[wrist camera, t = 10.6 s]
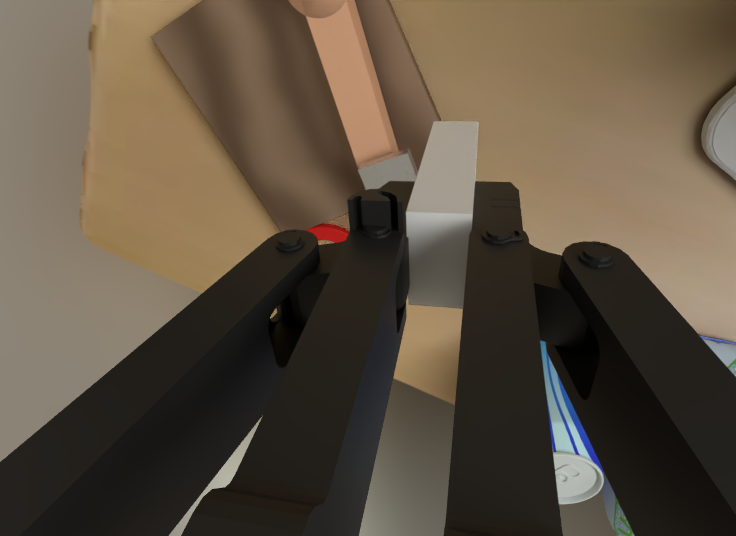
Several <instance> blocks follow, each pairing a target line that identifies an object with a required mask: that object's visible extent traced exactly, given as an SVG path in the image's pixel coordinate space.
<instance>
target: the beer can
mask: <svg viewBox="0 0 736 536" xmlns="http://www.w3.org/2000/svg"><path fill="white" fill-rule="evenodd" d="M540 343H541V352H542V361H543V370H544V378H545V387H546V396H547V405H548V413H549V422H550V431H551V439H552V448H553V457H554V466H555V474H556V483H557V492H558V501H559V504H571V503H578V502H581V501H584V500H587V499H589V498H591V497H593V496H594V495H596V494H597V493H598V492H599V491H600V490H601V488H602V486H603V483H604V477H603V473H604V471H603V469H602V467H601V464H600V462H599V460H598V458H597V456H596V454H595V452H594V450H593V448H592V446H591V444H590V441H589V439H588V437H587V435H586V433H585V431H584V429H583V427H582V425H581V423H580V420H579V418H578V416H577V414H576V412H575V410H574V408H573V406H572V404H571V402H570V399H569V397H568V395H567V393H566V391H565V389H564V387H563V385H562V383H561V381H560V379H559V376H558V374H557V372H556V370H555V368H554V366H553V364H552V362H551V360H550V358H549V355H548V353H547V351H546V345H545V343H546V342H544V341H541V340H540Z"/></svg>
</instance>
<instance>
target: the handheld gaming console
mask: <svg viewBox="0 0 736 536" xmlns="http://www.w3.org/2000/svg"><path fill="white" fill-rule="evenodd" d="M701 141H702V147H703V149H704V152H705V153H706V155H707V156H708V157H709V159H710V160H712V161H713V162H714V163H715V164H716V165H718V166H719V167H720V168H721V169H722V170H724V171H725V172H726V173H727V174H729V175H730V176H731V177H732V178H733V179H735V180H736V86H734V87H733V88H732V89H731V90H730V91H729V92H728V93H727V94H725V95H724V96H723V97H722V98H721V99H720V100H719V101H718V102H717V103H716V104H715V106H714V107H713V108H712V109H711V110H710V112H709V114H708V116H707V118H706V120H705V122H704V124H703V128H702V133H701Z"/></svg>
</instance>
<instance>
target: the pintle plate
mask: <svg viewBox="0 0 736 536" xmlns="http://www.w3.org/2000/svg"><path fill="white" fill-rule="evenodd" d="M355 3H356V7H357V10H358V14H359V17H360V20H361V24H362V27H363V31H364V34H365V38H366V41H367V44H368V48H369V51H370V55H371V58H372V62H373V65H374V68H375V72H376V75H377V79H378V82H379V86H380V89H381V92H382V96H383V99H384V103H385V106H386V109H387V113H388V116H389V120H390V123H391V127H392V130H393V133H394V137H395V140H396V144H397V147H398V151H400V150H403V149H406V148H409V149H410V151H411V154H412V157H413V159H414V162H415V165H416V167H417V170H418V171H419V168H420V165H421V161H422V158H423V155H424V152H425V148H426V145H427V142H428V139H429V136H430V132H431V129H432V126H433V123H434V121H441V119H440V116H439V114H438V112H437V109H436V107H435V105H434V102H433V100H432V98H431V95H430V93H429V91H428V89H427V86H426V84H425V82H424V79H423V77H422V75H421V72H420V70H419V68H418V65H417V63H416V61H415V59H414V56H413V54H412V52H411V49H410V47H409V45H408V42H407V40H406V38H405V35H404V33H403V31H402V29H401V26H400V24H399V22H398V19H397V17H396V15H395V12H394V10H393V8H392V5H391V3H390V1H389V0H355ZM151 38H152V40H153V41H154V43H155V44H156V46H157V47H158V49H159V50H160V52H161V53H162V55H163V56H164V58H165V59H166V61H167V62H168V64H169V65H170V67H171V68H172V70H173V71H174V73H175V74H176V76H177V77H178V79H179V80H180V82H181V83H182V85H183V86H184V88H185V89H186V91H187V92H188V94H189V95H190V97H191V98H192V100H193V101H194V103H195V104H196V105H197V107H198V108H199V110H200V111H201V113H202V114H203V116H204V117H205V119H206V120H207V122H208V123H209V125H210V126H211V128H212V129H213V131H214V132H215V134H216V135H217V137H218V138H219V140H220V141H221V143H222V144H223V146H224V147H225V149H226V150H227V152H228V153H229V155H230V156H231V158H232V159H233V161H234V162H235V164H236V165H237V167H238V168H239V170H240V171H241V173H242V174H243V176H244V177H245V179H246V180H247V182H248V183H249V185H250V186H251V188H252V189H253V191H254V192H255V194H256V195H257V197H258V198H259V200H260V201H261V203H262V204H263V206H264V207H265V209H266V210H267V212H268V213H269V215H270V216H271V218H272V219H273V221H274V222H275V224H276V225H277V227H278V228H279V230H280V231H281V232H283V231H285V230H291V229H297V230H307V229H309V228H311V227H314V226H316V225H319V224H321V223H324V222H326V221H329V220H331V219H334V218H336V217H339V216H341V215H344V214H346V213H348V203H347V199H348V198H349V197H350V196H351V195H353V194H355V193H357V192H359V191H364V190H365V187H364V184H363V181H362V179H361V176H360V174H359V172H358V167H357V164H356V161H355V158H354V155H353V152H352V149H351V146H350V143H349V140H348V138H347V135H346V132H345V129H344V126H343V123H342V120H341V117H340V114H339V111H338V108H337V106H336V103H335V100H334V97H333V94H332V91H331V88H330V85H329V82H328V79H327V76H326V73H325V71H324V68H323V65H322V62H321V59H320V56H319V53H318V50H317V47H316V44H315V41H314V39H313V36H312V33H311V30H310V27H309V24H308V21H307V18H306V16H305V15H303V14H302V13H300V12H299V11H297V10H296V9H295V8H294V7H293V6H292V5H291V3H290V2H289V1H288V0H203V1H201V2H200V3H198V4H197V5H196V6H194V7H193V8H191V9H190V10H189V11H187V12H186V13H184V14H183V15H181V16H180V17H179V18H177V19H176V20H174V21H173V22H172V23H170V24H169V25H167V26H166V27H165V28H163V29H162V30H160V31H159V32H157V33H156V34H155V35H153V36H152V37H151Z"/></svg>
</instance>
